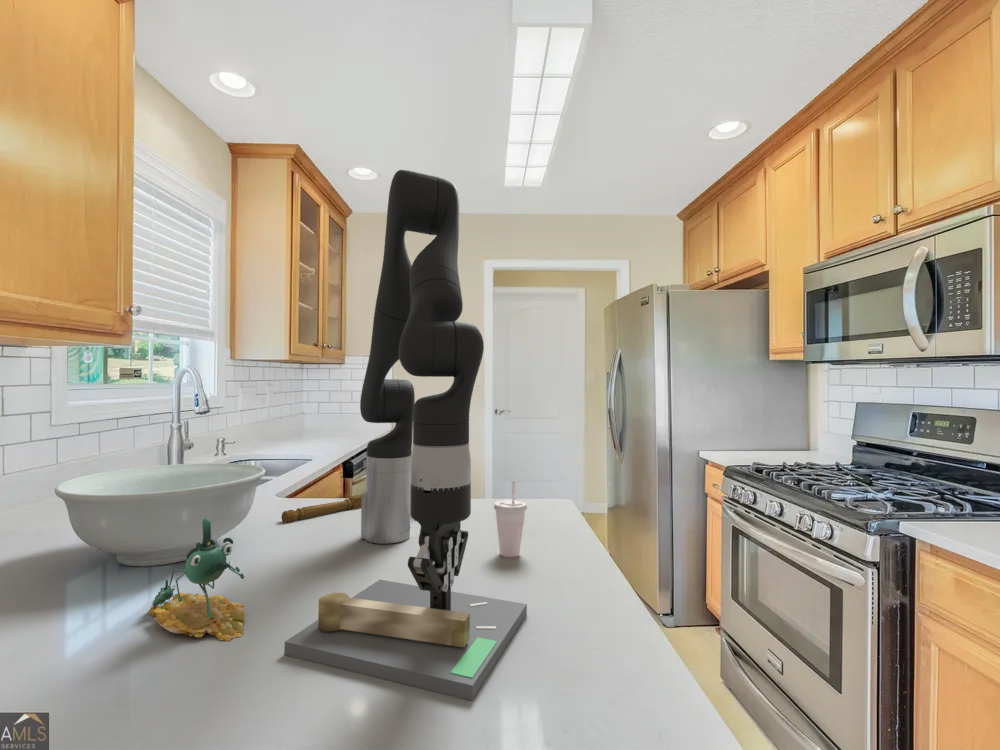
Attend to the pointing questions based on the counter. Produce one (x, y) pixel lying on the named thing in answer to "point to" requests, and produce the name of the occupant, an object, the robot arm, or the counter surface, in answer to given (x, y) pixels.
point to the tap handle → (322, 509)
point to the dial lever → (393, 620)
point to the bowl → (158, 508)
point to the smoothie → (510, 524)
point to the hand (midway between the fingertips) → (440, 618)
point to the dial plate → (418, 643)
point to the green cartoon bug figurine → (199, 610)
